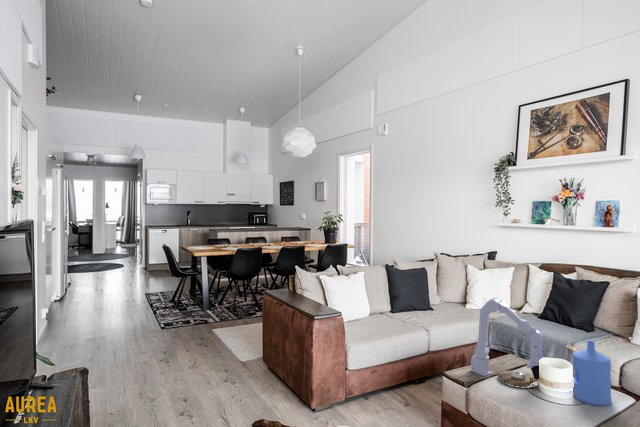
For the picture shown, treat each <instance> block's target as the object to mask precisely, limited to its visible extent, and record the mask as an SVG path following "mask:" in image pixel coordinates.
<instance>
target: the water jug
mask: <svg viewBox="0 0 640 427" xmlns="http://www.w3.org/2000/svg"><path fill="white" fill-rule="evenodd" d="M586 342H587V343H586V349H583V350H577V351H574V352H573V353H572V366H573V368H574V369H575V378H574V388H573V389H572V395H573V396H574V397H575V399H577V400H578V401H580V402H582V403H586V404H589V405H592V406H600V407H601V406H608V405H611V403H612V389H611V388H612V378H611V377H612V376H611V374H612V373H611V368H612V364H611V359H610V357H608V356H607V355H605V354H603V353H601V352H599V351H597V350H596V346H595V344H596V342H595V341H593V340H586Z"/></svg>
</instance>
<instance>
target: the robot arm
mask: <svg viewBox="0 0 640 427" xmlns="http://www.w3.org/2000/svg"><path fill="white" fill-rule="evenodd" d="M502 300H503V299H501V298H499V297H493V298H491V299H489V300H488V301H487V302H485V304H484V305H483V306H482V307H480V311H479V320H478V321H479V323H478V339H477V343H476V348H475V349H474V354H473V355H472V356H471V358H470V368H471V369H470V372H472V373H475V374H477V375H480V376H483V377H486V376H489V375H491V374H494V373H493V371H490V356H489V353H490V352H491V350H490V346H489V341H488V339H489V325H490V322H489V321H490V314H491V313H496V312H497V311H498V313H502V314H505V315H506V316H507V317H509V319H511V320H512V321H514V323H515V324H516V325H517V328H518V329H519V330H520V331H522V332H523V334H525V335H526V336H527V337H528V338H529V341H530V342H529V344H530V346H529V352H530V353H529V356H530V359H529V362H528V363H526V368H527V369H530V370H531V374H532V375H533V376H534V379H537V380H538V379H539V380H540V378H539V360H540V359H541V358H542V359H543V340H542V339H543V335H544V334H543V333H542V332H541V330H540V329H537V327H534V326H533V325H532V324H531V322H530V321H529V320H526V319H523V318H521V317H520V316H519V315H517V313H516V312H515V311H513V309H512V308H510V307H509V306H508V304H507V303H506V302H505V301H502Z"/></svg>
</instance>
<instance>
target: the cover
mask: <svg viewBox="0 0 640 427" xmlns="http://www.w3.org/2000/svg"><path fill="white" fill-rule="evenodd" d="M511 371H512V372H511V378H513V379H515V380H521V381H522V380H525V379H526V377H525V373H526V372H524V371H520V370H511ZM523 372H524V373H523Z"/></svg>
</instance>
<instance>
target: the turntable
mask: <svg viewBox="0 0 640 427" xmlns="http://www.w3.org/2000/svg"><path fill="white" fill-rule="evenodd" d="M512 371H513V370H503V371H500V372H499V373H498V374H497V378H499V379H498V381H500V380H501V381H502V382H504V383H507V384H510V385H513V386H519V387H527V386H530V384H531V383H533V382H535V381H538V380H537V379H534V376H533V374H532V373H531V374H530V373H529V372H528V373H527V372H524V371H522V372H523V373H525V377H526V379H525V380H522V381H521V380H515V379H513V378H511V372H512ZM501 381H500V382H501ZM502 382H501V383H502ZM504 383H503V384H504ZM513 386H512V387H513Z"/></svg>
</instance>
